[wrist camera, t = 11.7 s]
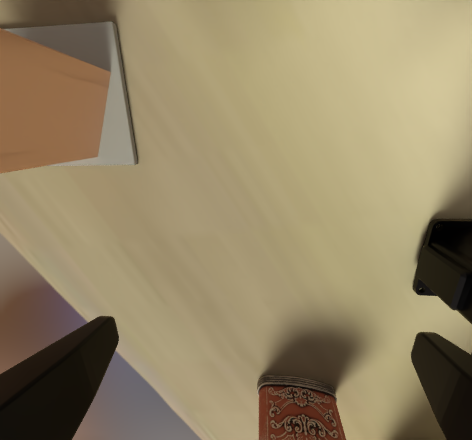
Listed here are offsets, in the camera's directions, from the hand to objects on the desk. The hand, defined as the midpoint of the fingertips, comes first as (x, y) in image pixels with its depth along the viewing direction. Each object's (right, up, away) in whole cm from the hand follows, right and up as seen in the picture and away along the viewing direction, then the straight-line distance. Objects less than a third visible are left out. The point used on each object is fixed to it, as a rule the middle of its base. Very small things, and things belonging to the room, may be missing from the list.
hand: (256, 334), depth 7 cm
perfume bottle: (+6, -14, +19) cm, 24 cm away
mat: (-13, +12, +11) cm, 21 cm away
